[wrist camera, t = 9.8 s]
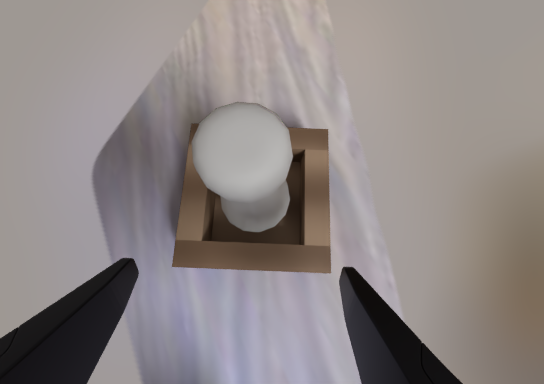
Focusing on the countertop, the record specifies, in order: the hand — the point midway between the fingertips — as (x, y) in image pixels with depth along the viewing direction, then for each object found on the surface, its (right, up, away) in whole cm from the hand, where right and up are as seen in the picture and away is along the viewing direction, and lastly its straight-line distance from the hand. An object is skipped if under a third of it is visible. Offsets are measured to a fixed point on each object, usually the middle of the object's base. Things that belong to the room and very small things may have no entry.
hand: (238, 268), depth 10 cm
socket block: (0, +2, +13) cm, 13 cm away
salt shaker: (0, +2, +12) cm, 12 cm away
